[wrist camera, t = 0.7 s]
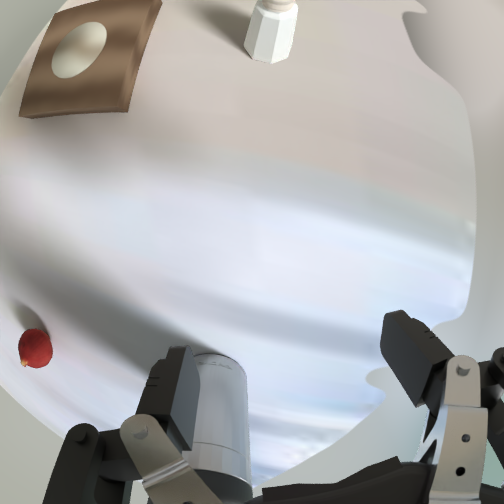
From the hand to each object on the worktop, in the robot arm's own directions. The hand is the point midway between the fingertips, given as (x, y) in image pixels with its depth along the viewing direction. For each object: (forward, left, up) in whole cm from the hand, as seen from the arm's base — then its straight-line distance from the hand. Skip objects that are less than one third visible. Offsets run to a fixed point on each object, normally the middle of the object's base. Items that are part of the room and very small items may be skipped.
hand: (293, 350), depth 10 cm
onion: (-20, +30, -20) cm, 41 cm away
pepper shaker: (+22, +3, -20) cm, 30 cm away
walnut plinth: (+20, +25, -20) cm, 38 cm away
